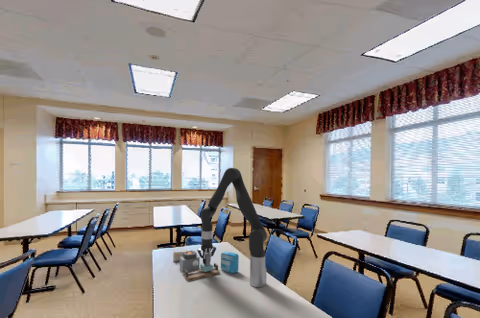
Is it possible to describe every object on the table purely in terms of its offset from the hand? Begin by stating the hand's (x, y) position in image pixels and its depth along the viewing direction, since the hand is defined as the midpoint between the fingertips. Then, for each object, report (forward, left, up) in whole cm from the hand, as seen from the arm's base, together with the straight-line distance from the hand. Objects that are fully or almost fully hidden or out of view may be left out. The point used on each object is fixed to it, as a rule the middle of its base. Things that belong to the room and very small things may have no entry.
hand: (206, 263), depth 157 cm
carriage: (0, 0, -4) cm, 4 cm away
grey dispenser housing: (+8, -13, -7) cm, 16 cm away
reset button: (+8, -13, +2) cm, 15 cm away
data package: (-15, +4, -7) cm, 17 cm away
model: (+9, -30, -7) cm, 32 cm away
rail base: (+4, 0, -7) cm, 7 cm away
